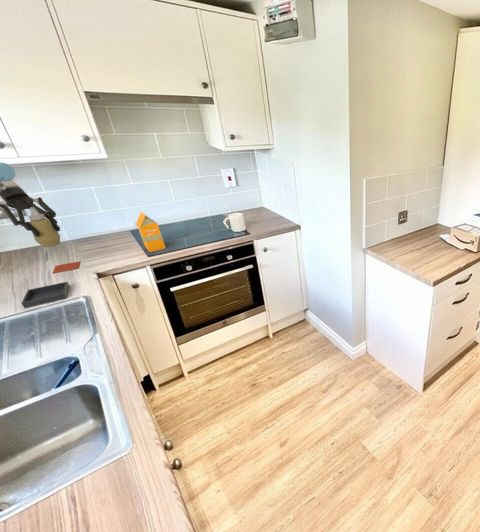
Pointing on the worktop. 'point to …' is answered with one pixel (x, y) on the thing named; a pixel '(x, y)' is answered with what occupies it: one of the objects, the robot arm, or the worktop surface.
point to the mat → (66, 267)
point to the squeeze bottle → (44, 229)
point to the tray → (46, 294)
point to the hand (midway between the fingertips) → (48, 232)
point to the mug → (236, 222)
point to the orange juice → (150, 233)
